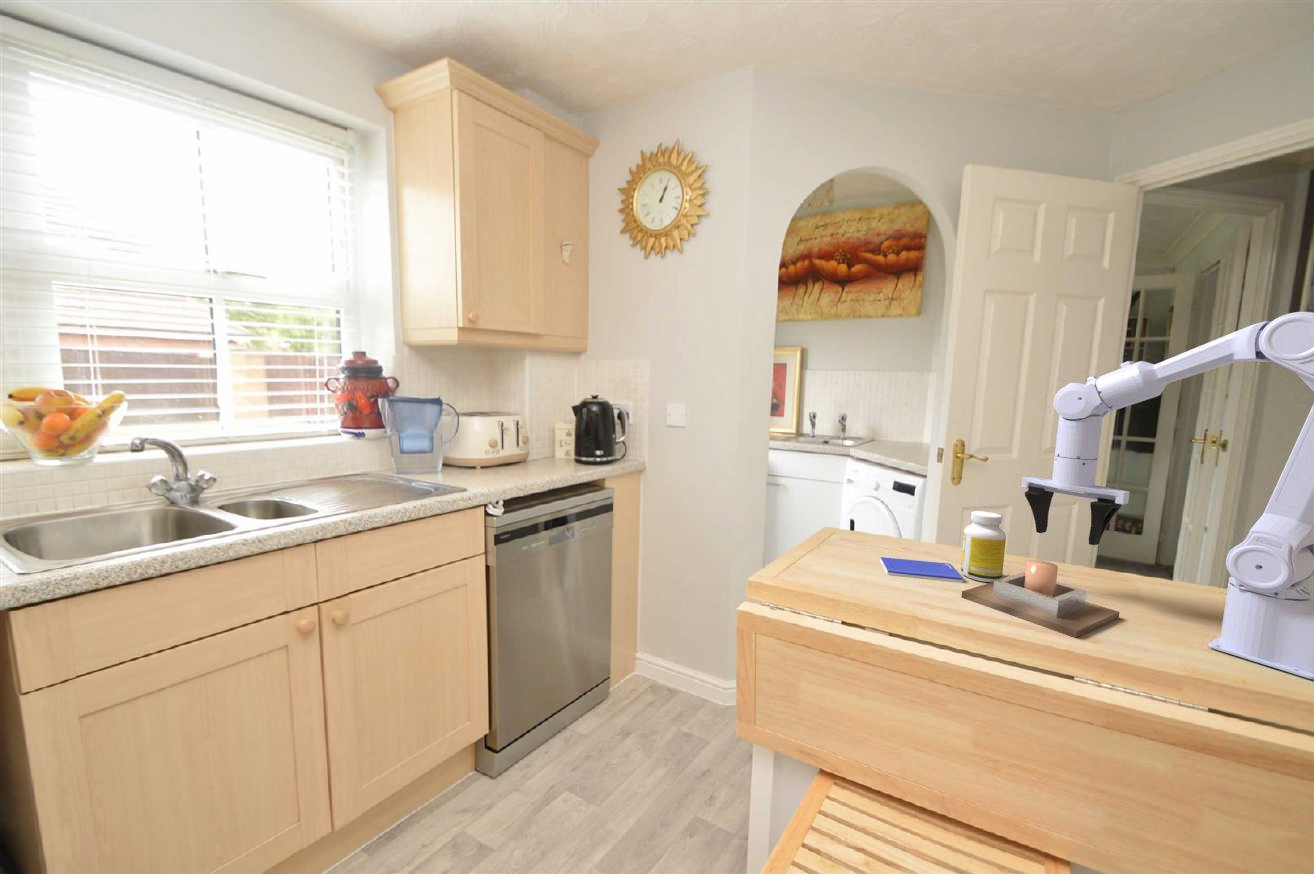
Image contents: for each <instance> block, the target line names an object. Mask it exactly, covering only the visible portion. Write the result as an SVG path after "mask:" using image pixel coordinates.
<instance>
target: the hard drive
mask: <svg viewBox="0 0 1314 874" xmlns="http://www.w3.org/2000/svg"><path fill="white" fill-rule="evenodd" d="M879 561H880V563H881V566H882V568H883V570H884V571H885V573H886V575H887V576H896V577H904V578H905V577H906V578H912V579H913V578H914V579H924V580H933V581H941V582H942V581H943V582H951V583H962V584H963V583H964V577H963V575H961V573H960V572H959V571H958V570H957V569H956V568H955V566H953V564H951V563H947V562H937V561H928V560H927V561H926V560H917V559H916V560H915V559H914V560H913V559H906V558H905V559H904V558H895V557H894V558H892V557H883V556H881V557H880V559H879Z"/></svg>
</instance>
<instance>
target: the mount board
mask: <svg viewBox="0 0 1314 874" xmlns="http://www.w3.org/2000/svg"><path fill="white" fill-rule="evenodd" d="M993 588H994V582H987V583H986V584H982V585H978V586H975V587H972V588H968V589H965V590H962V591H961V598H963V599H966V600H968V601H972V602H973V603H977V604H980V605H983V606H985V607H987V608H991V609H994V610H997V611H999V612H1002V613H1005V614H1008V615H1010V616H1014V617H1016V618H1018V619H1022V620H1025V621H1027V622H1030V623H1033V624H1036V625H1038V626H1042V627H1045V628H1048V629H1050V630H1052V631H1055V632H1056V631H1057V632H1059V633H1061V634H1064V635H1066V636H1070V637H1073V638H1075V639H1076V638H1078V637H1081V636H1083V635H1085V634H1087V633H1090V632H1091V631H1094V630H1096V629H1098V628H1100V627H1102V626H1104V625H1107V624H1109V623H1111V622H1114V621H1117V620H1118V619H1119V618H1120V611H1117V610H1114V609H1111V608H1108V607H1105V606H1102V605H1099V604H1098V605H1097V604H1095V603H1091V602H1088V601H1085V607H1082V608H1080V609H1077V610H1075V611H1072V612H1070V613H1067V614H1065V615H1062V616H1060V617H1057V618H1056V617H1053V616H1050V615H1047V614H1044V613H1041V612H1038V611H1035V610H1032V609H1030V608H1027V607H1024V606H1021V605H1018V604H1015V603H1012V602H1009V601H1006V600H1003V599H1000V598H997V597H994V596H993Z"/></svg>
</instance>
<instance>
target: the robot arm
mask: <svg viewBox="0 0 1314 874" xmlns="http://www.w3.org/2000/svg"><path fill="white" fill-rule="evenodd" d="M1239 362H1250V363H1251V362H1254V363H1255V362H1257V363H1258V362H1259V363H1262V362H1263V363H1265V362H1266V363H1276V364H1278V365H1280V366H1282V367H1284V368H1286V369H1288V370H1290V371H1291V372H1294V373H1295V374H1297V377H1299V378H1300V379H1301V380H1302V381H1303V382H1304V383H1305V384H1306V385H1307V386H1308V387H1309V388H1310V389H1311V390H1312V391H1313V392H1314V312H1312V311H1296V312H1295V311H1294V312H1290V313H1286V314H1283V315H1280V316H1279V317H1277V318H1274V319H1273V320H1272V321H1268V320H1266V321H1261V322H1258V323H1254V324H1252V325H1248V326H1246V327H1244V328H1241V329H1239V330H1236V331H1233V332H1231V333H1229V334H1226V335H1223V336H1221V337H1219V338H1217V339H1214V340H1212V341H1208V342H1207V343H1204V344H1202V345H1199V346H1197V347H1195V348H1192V349H1190V350H1187V351H1185V352H1182V353H1179V354H1177V355H1175V356H1173V357H1171V358H1170V357H1169V358H1168V359H1165V360H1163V361H1161V362H1158V363H1155V364H1153V363H1151V362H1147V361H1143V360H1140V361H1137V362H1135V361H1131V360H1129V361H1125V362H1122V363H1121V364H1120V368H1118V369H1115V370H1113V371H1111V372H1108V373H1105V374H1102V375H1100V376H1097V375H1092V376H1090V377H1088V378H1086V381H1087V382H1086V383H1081V382H1079V383H1078V382H1070V383H1068V384H1067V385H1066V386H1063V387H1062V388H1060V389H1059V390H1058V391H1057V392H1056V393H1055V395H1054V398H1053V408H1054V410H1055V412H1056V413H1057V414H1058V423H1057V429H1056V430H1057V431H1056V441H1055V450H1054V457H1053V458H1054V459H1053V467H1052V468H1053V469H1052V477H1051V478H1044V477H1036V476H1030V475H1029V476H1022V479H1021V489H1027V491H1025V492H1024V496H1025V498H1026V501H1027V502H1028V505H1029V507H1030V510H1031V511H1032V515H1033V519H1034V524H1035V531H1036V533H1037V534H1044V533H1046V532H1047V530H1048V526H1049V525H1048V523H1049V513H1050V507H1051V503H1052V500H1053V497H1054V495H1055V494H1063V495H1068V496H1074V497H1080V498H1086V499H1091V500H1095V501H1090V503H1089V505H1090V506H1089V507H1090V529H1089V534H1088V545H1091V546H1097V545H1099V544H1100V542H1101V539H1102V537H1103V534H1104V532H1105V531H1106V530H1105V529H1107V526H1108V524H1109V523H1110V522H1111V520H1112V519H1113V517H1114V516H1115V515H1116V514H1117V513H1118V511H1119V510H1120V509H1121V508H1122V505H1126V504H1127V505H1128V504H1129V499H1130V491H1129V490H1128V491H1127V490H1122V489H1115V488H1112V487H1108V486H1107V487H1106V486H1102V485H1101V486H1100V485H1096V479H1097V468H1098V464H1099V462H1098V461H1099V454H1100V444H1101V436H1102V435H1101V434H1102V424H1103V419H1104V417H1106V416H1107V415H1108V414H1109V413H1110V412H1114V411H1117V410H1120V409H1122V408H1126V407H1129V406H1132V405H1136V404H1138V403H1141V402H1143V401H1144V402H1145V401H1147V400H1150V399H1154V398H1156V397H1158V396H1161V394H1162V393H1163V391H1164V389H1165V388H1166V386H1167V385H1169V384H1171V383H1174V382H1176V381H1179V380H1180V381H1181V380H1183V379H1186V378H1190V377H1193V376H1195V375H1196V376H1197V375H1200V374H1203V373H1205V372H1209V371H1212V370H1215V369H1218V368H1222V367H1224V366H1225V367H1226V366H1228V365H1232V364H1235V363H1239ZM1054 493H1055V494H1054ZM1225 566H1226V570H1227V571H1228V573H1229V575H1230V576H1229V577H1228V583H1227V589H1226V596H1225V603H1224V610H1223V611H1224V612H1223V618H1222V624H1221V631H1220V635H1219V636H1217V637H1216V638H1214V639H1213V640H1212V641H1210V642H1208V645H1207V647H1208V648H1211V649H1213V650H1217V651H1220V652H1223V653H1227V654H1229V655H1233V656H1236V657H1239V658H1241V659H1245V660H1248V661H1251V662H1255V663H1258V664H1262V665H1265V666H1268V667H1271V668H1274V669H1277V670H1281V671H1283V672H1287V673H1290V674H1293V675H1297V676H1300V677H1303V678H1305V679H1309V680H1314V598H1312V597H1311V596H1312V592H1311V591H1310V589H1309V588H1308V586H1307V584H1306V583H1305V582H1304V581H1306V580H1309V579H1310V578H1312V577H1313V576H1314V403H1313V404H1312V406H1311V409H1310V411H1309V413H1308V415H1307V417H1306V419H1305V422H1304V424H1303V426H1302V428H1301V431H1300V432H1299V435H1298V437H1297V439H1296V441H1295V443H1294V446H1293V448H1292V450H1291V452H1290V455H1289V457H1288V459H1287V461H1286V463H1285V466H1284V468H1283V470H1282V471H1281V474H1280V476H1279V479H1278V481H1277V484H1276V485H1275V487H1274V490H1273V492H1272V494H1271V496H1270V498H1269V501H1268V503H1267V504H1266V507H1265V510H1264V512H1263V514H1262V515H1261V516H1260V517H1259V519H1258V520H1257V521H1256V522H1255V523H1254V524H1253V526H1252V527H1251V528H1250V529H1249V532H1248V533H1247V535H1246V538H1245V539H1244V540H1243V541H1242V542H1240V543H1239V544H1237V545H1235V546H1234V547H1232V548H1231V549H1230V550H1229V551H1228V553H1227V556H1226V558H1225Z"/></svg>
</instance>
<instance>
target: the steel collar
mask: <svg viewBox="0 0 1314 874" xmlns="http://www.w3.org/2000/svg"><path fill="white" fill-rule="evenodd" d="M1025 574H1026V572H1020V573H1016V574H1013V575H1010V576H1009V575H1008V576H1006V577H1002V579H999V580H995V581H994V588H993V596H994V597H997V598H1000V599H1003V600H1006V601H1009V602H1012V603H1015V604H1018V605H1021V606H1024V607H1027V608H1030V609H1032V610H1035V611H1038V612H1041V613H1044V614H1047V615H1050V616H1053V617H1056V618H1057V617H1060V616H1062V615H1065V614H1067V613H1070V612H1072V611H1075V610H1077V609H1080V608H1082V607H1085V602H1086V600H1087V599H1086V598H1087V590H1086V589H1082V588H1079V587H1075V586H1072V585H1069V584H1064V583H1061V582H1057V581H1056V590H1055V597H1051V596H1048V595H1045V594H1041V593H1038V592H1035V591H1032V590H1029V589H1025V588H1024V583H1025Z"/></svg>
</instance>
